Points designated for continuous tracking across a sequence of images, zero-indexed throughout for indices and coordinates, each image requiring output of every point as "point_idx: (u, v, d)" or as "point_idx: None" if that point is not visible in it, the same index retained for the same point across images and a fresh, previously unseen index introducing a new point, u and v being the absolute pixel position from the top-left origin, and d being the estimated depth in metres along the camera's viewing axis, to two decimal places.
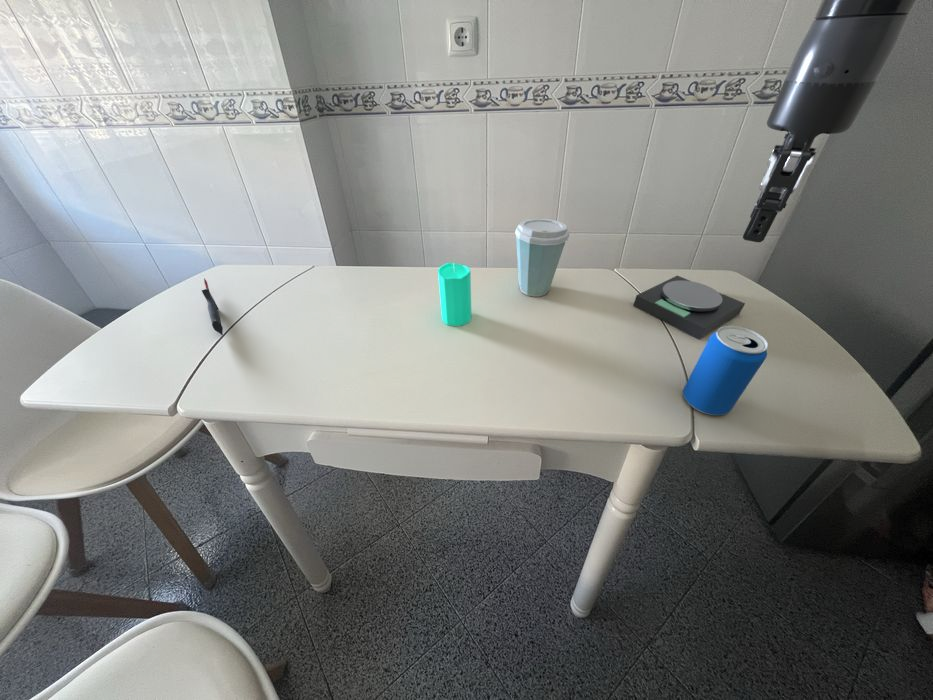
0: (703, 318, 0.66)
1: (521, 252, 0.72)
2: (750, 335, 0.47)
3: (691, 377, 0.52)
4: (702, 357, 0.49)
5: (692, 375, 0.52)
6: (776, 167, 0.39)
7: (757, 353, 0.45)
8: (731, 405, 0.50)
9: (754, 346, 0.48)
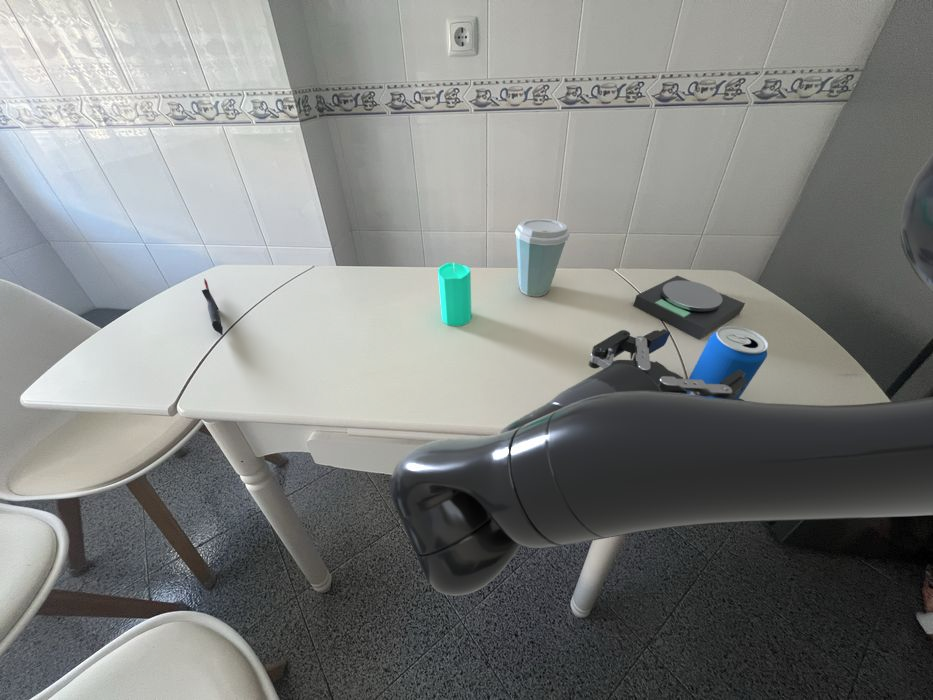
0: (703, 318, 0.66)
1: (521, 252, 0.72)
2: (750, 335, 0.47)
3: (691, 377, 0.52)
4: (702, 357, 0.49)
5: (692, 375, 0.52)
6: None
7: (757, 353, 0.45)
8: None
9: (754, 346, 0.48)
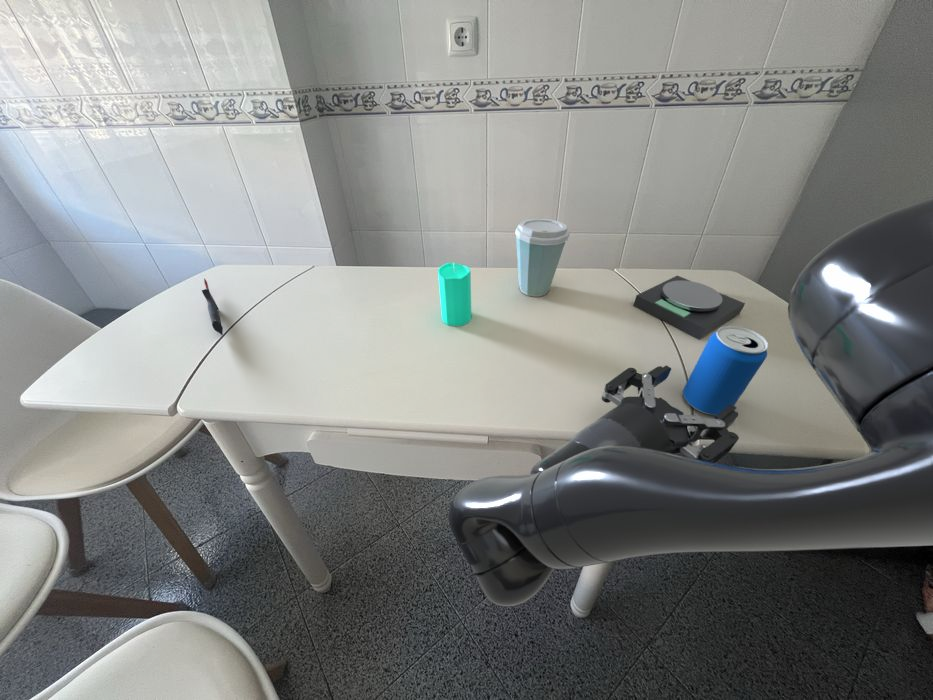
0: (703, 318, 0.66)
1: (521, 252, 0.72)
2: (750, 335, 0.47)
3: (691, 377, 0.52)
4: (702, 357, 0.49)
5: (692, 375, 0.52)
6: None
7: (757, 353, 0.45)
8: None
9: (754, 346, 0.48)
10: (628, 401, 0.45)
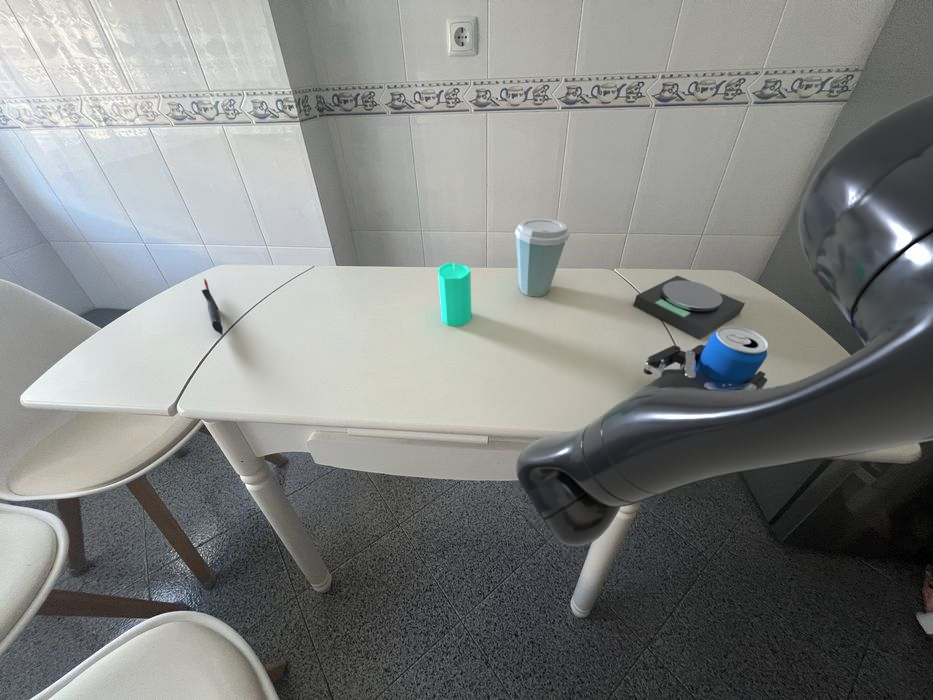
0: (703, 318, 0.66)
1: (521, 252, 0.72)
2: (750, 335, 0.47)
3: None
4: (702, 357, 0.50)
5: None
6: None
7: (757, 353, 0.45)
8: None
9: (754, 346, 0.48)
10: (669, 372, 0.48)
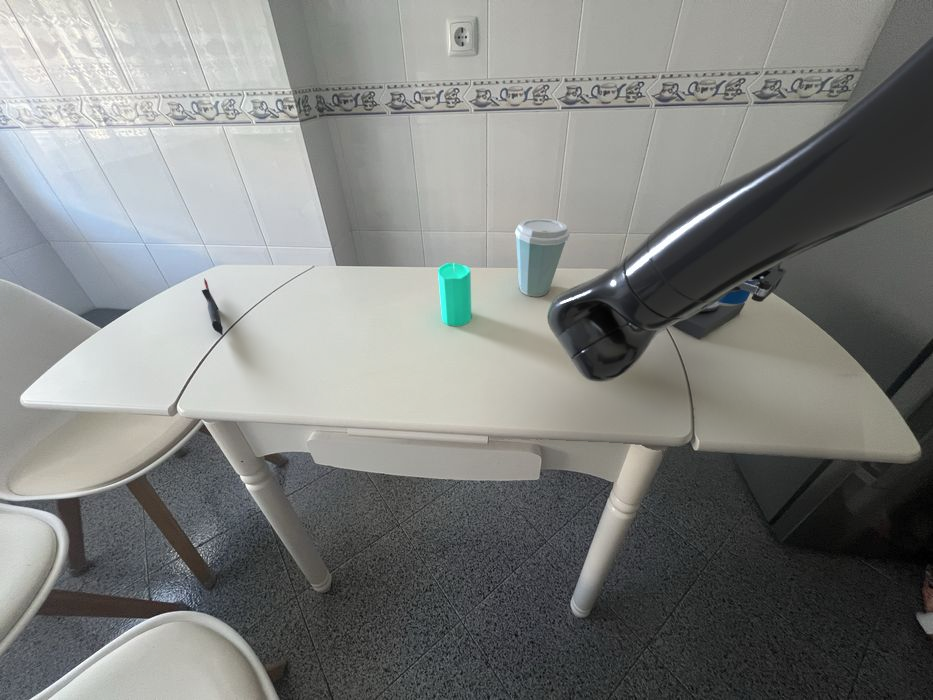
0: (703, 318, 0.66)
1: (521, 252, 0.72)
2: None
3: None
4: None
5: None
6: None
7: None
8: (747, 292, 0.52)
9: None
10: None
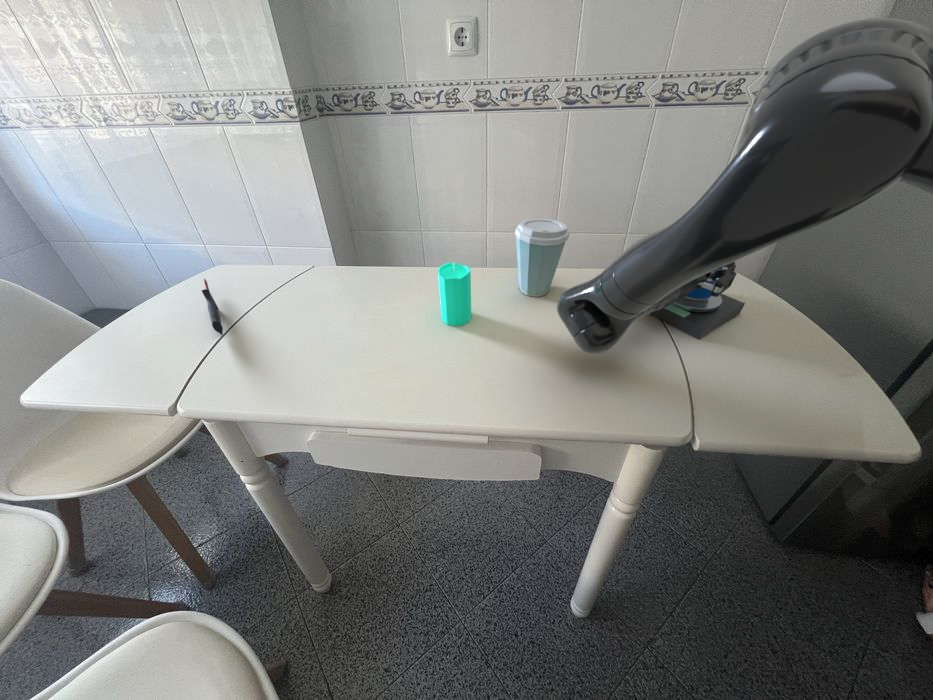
0: (703, 318, 0.66)
1: (521, 252, 0.72)
2: None
3: None
4: None
5: None
6: (721, 293, 0.60)
7: None
8: None
9: None
10: None
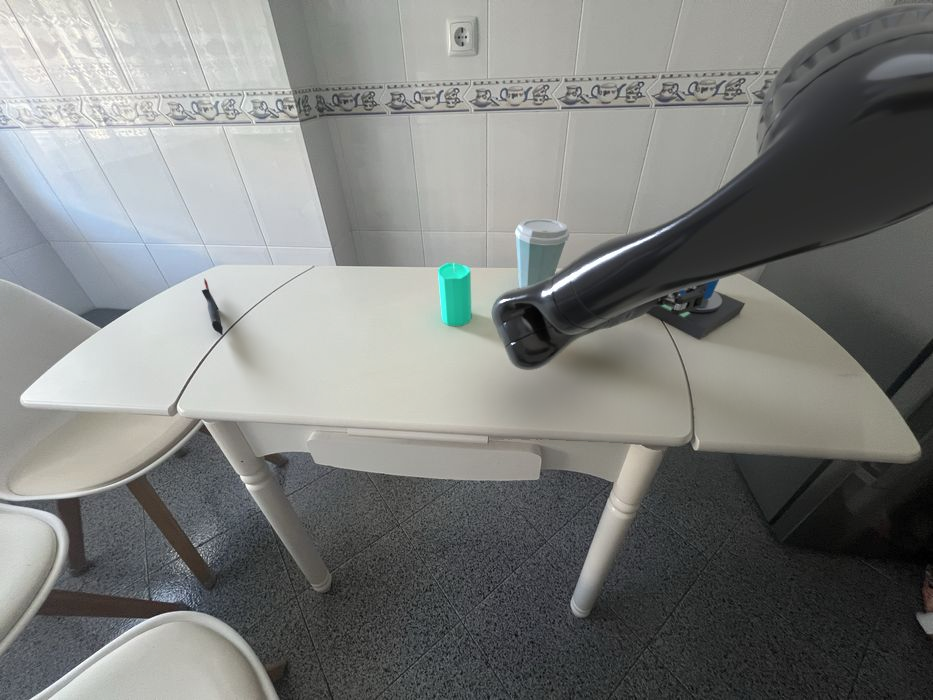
0: (703, 318, 0.66)
1: (521, 252, 0.72)
2: None
3: None
4: None
5: None
6: (683, 312, 0.53)
7: None
8: (710, 290, 0.67)
9: None
10: None
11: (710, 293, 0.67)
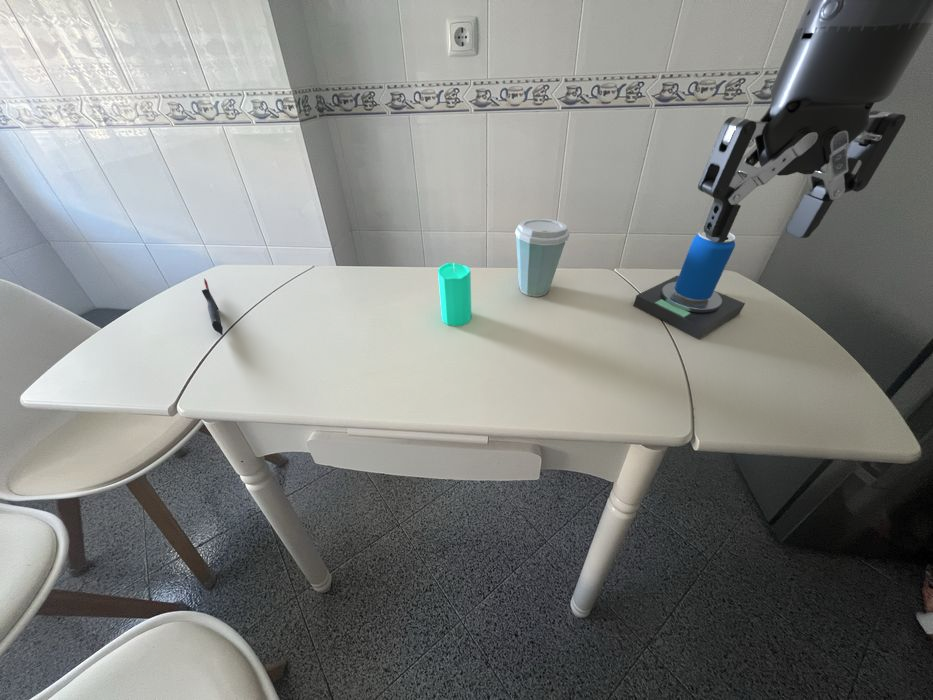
0: (703, 318, 0.66)
1: (521, 252, 0.72)
2: None
3: (680, 273, 0.69)
4: (688, 254, 0.66)
5: (681, 271, 0.69)
6: (893, 136, 0.30)
7: (727, 242, 0.61)
8: (710, 290, 0.67)
9: None
10: None
11: (710, 293, 0.67)
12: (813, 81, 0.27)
